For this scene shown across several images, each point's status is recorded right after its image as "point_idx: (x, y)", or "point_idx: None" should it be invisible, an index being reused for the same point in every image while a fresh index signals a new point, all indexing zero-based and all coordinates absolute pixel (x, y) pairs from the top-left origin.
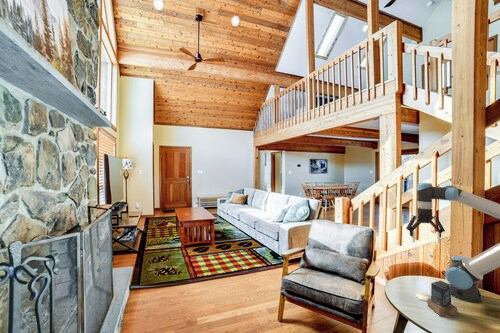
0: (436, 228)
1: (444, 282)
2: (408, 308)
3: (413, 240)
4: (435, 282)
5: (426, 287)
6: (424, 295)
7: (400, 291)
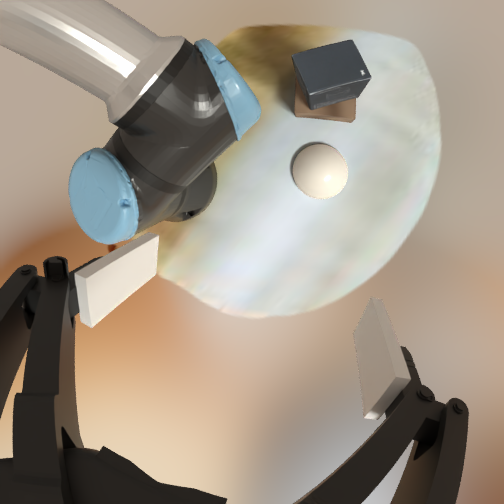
0: (58, 318)
1: (305, 74)
2: (417, 123)
3: (383, 308)
4: (349, 78)
5: (262, 238)
6: (316, 180)
7: (376, 221)
